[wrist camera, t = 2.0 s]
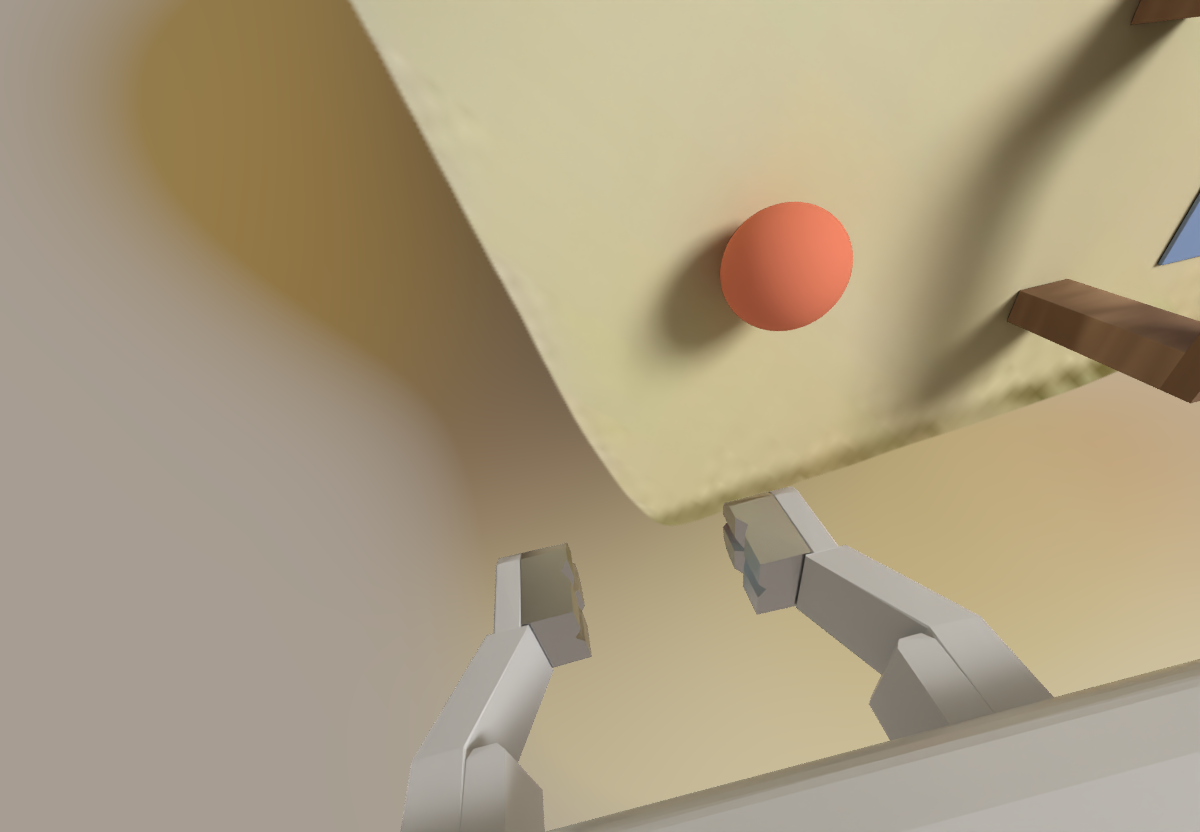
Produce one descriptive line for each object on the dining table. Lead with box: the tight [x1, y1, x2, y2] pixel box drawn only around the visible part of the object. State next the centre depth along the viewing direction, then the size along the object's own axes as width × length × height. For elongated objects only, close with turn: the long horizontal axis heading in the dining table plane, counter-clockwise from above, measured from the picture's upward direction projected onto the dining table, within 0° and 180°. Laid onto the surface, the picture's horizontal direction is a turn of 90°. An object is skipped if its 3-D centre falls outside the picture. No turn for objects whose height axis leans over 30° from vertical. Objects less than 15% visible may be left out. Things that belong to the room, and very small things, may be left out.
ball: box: [720, 202, 853, 331], centre depth 20 cm, size 6×6×6 cm
